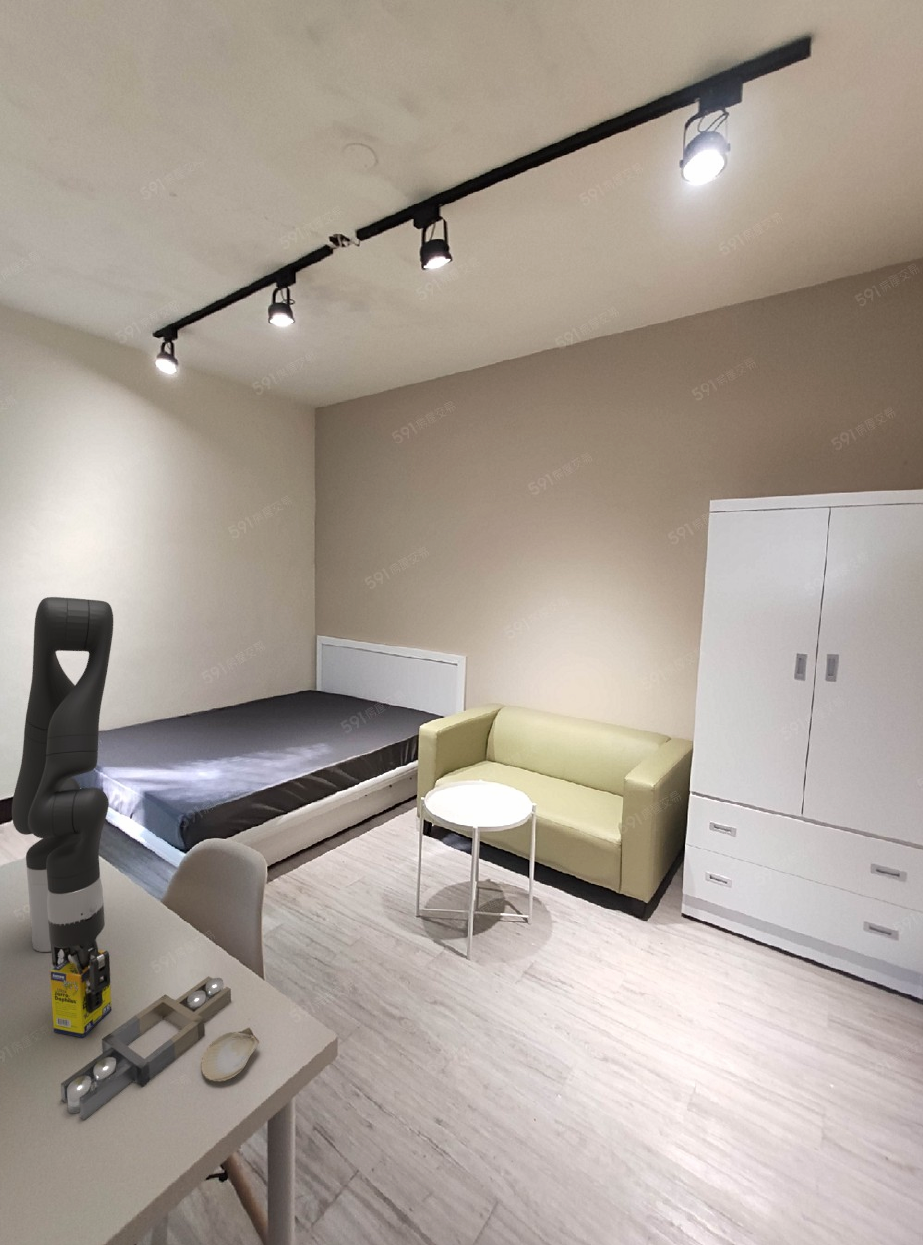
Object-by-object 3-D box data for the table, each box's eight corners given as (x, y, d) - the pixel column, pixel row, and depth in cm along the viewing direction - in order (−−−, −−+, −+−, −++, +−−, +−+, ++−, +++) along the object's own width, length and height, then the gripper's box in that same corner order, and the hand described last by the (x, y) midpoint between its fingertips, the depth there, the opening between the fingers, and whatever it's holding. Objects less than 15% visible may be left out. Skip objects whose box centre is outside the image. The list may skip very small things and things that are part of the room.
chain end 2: (136, 1032, 91) (135, 1015, 90) (203, 983, 101) (202, 967, 101) (175, 1059, 86) (174, 1042, 85) (241, 1005, 96) (240, 989, 96)
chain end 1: (50, 1094, 80) (49, 1076, 80) (136, 1032, 91) (135, 1015, 90) (89, 1130, 75) (88, 1110, 75) (175, 1059, 86) (174, 1042, 85)
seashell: (200, 1071, 86) (211, 1098, 80) (194, 1052, 86) (205, 1078, 80) (252, 1035, 91) (266, 1058, 84) (247, 1018, 91) (261, 1040, 84)
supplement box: (83, 1038, 89) (79, 976, 88) (52, 1032, 90) (48, 970, 89) (113, 1009, 95) (109, 950, 94) (83, 1004, 96) (79, 946, 95)
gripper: (28, 906, 91) (35, 998, 93) (74, 935, 84) (81, 1034, 86) (77, 883, 97) (83, 970, 99) (124, 908, 91) (129, 1001, 92)
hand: (82, 999), depth 92 cm, fingers closed on supplement box, 7 cm apart
